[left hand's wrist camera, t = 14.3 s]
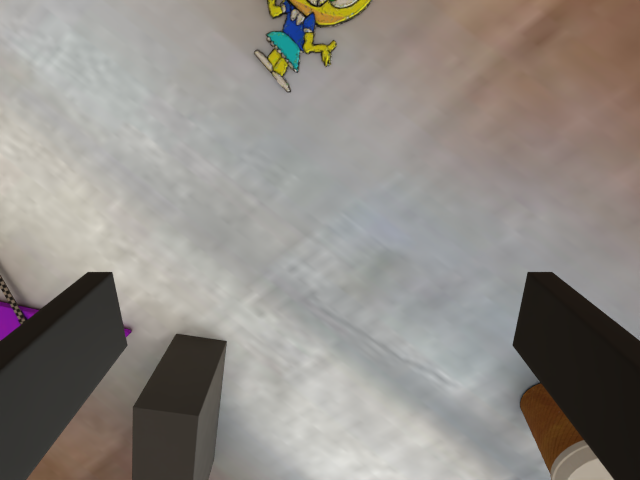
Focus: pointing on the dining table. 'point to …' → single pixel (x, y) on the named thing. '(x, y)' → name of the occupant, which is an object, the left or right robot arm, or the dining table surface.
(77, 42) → the dining table surface
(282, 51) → the toy
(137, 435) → the box
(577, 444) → the disposable coffee cup
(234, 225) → the dining table surface
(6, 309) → the musical instrument
